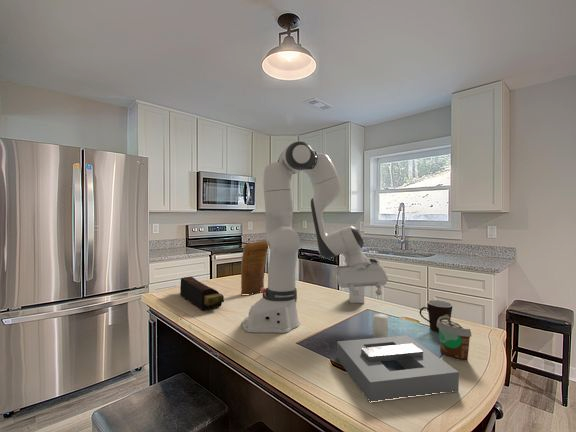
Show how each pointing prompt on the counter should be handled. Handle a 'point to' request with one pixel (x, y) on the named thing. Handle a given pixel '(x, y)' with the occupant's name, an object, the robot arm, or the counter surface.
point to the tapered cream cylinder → (380, 326)
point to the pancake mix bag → (253, 267)
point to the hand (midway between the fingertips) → (368, 295)
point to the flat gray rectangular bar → (391, 352)
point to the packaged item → (200, 294)
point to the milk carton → (360, 298)
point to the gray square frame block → (393, 384)
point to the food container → (453, 339)
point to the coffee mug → (437, 312)
